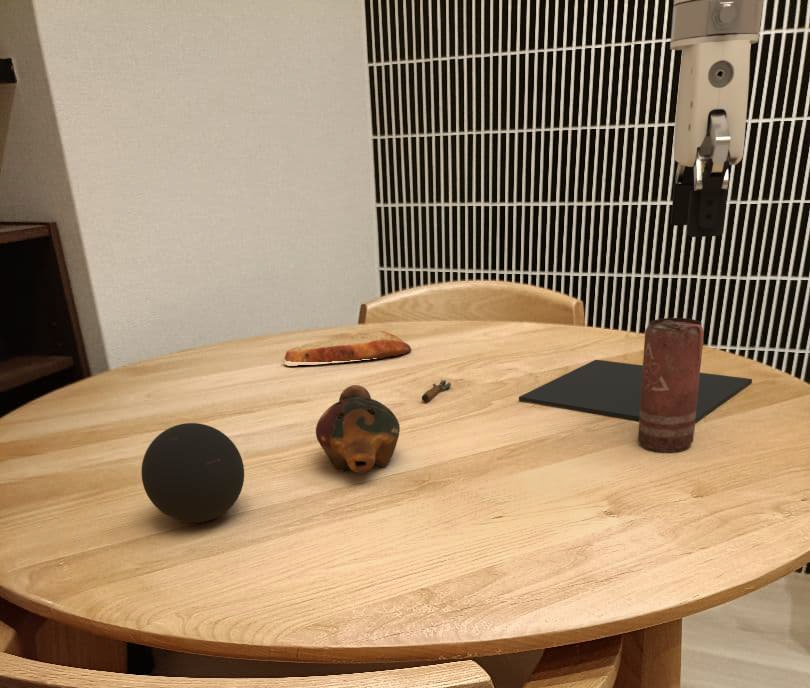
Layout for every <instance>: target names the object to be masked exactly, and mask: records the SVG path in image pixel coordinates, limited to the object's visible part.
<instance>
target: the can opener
mask: <svg viewBox="0 0 810 688" xmlns="http://www.w3.org/2000/svg"><path fill="white" fill-rule="evenodd" d="M451 386H452V383H451V382H450V381H449V382H447V380H445V379H441V380H440V382H439V384H436V383H432V387H431V388H430V389H428V390H427V391H425V392H424V393H423V395H422V396H421V400H422V402H425V403H426V402H428V401H430V400H431V399H433V397H435V395H437V393H439V392H440V390H441V389H448V388H450V387H451Z"/></svg>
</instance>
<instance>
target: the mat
mask: <svg viewBox="0 0 810 688" xmlns="http://www.w3.org/2000/svg"><path fill="white" fill-rule="evenodd" d="M642 372H643V364H634V363H626V362H620V361H619V362H618V361H612V360H611V361H610V360H602V359H594V360H591V361H589V362H587V363H586V364H584V365H581V366H579V367H578V368H575V369H573V370H571V371H569V372H567V373H565V374H562V375H561V376H559V377H556V378H555V379H553V380H551V381H548V382H547V383H545V384H542V385H540V386H538V387H536V388H534V389H532V390H530V391H527V392H526V393H524V394H522V395H520V396H518V402H524V403H528V404H530V403H531V404H535V405H542V406H547V407H554V408H558V409H566V410H571V411H572V410H573V411H578V412H583V413H589V414H596V415H600V416H601V415H602V416H607V417H613V418H619V419H620V418H621V419H625V420H632V421H636V422H639V417H640V402H641V387H642ZM752 383H753V378H748V377H739V376H731V375H724V374H715V373H706V372H700V377H699V387H698V398H697V408H696V418H695V424H697V423H698V422H699V421H701V420H702V419H703V418H705V417H707V416H708V415H710V414H711V413H712V412H713V411H715V410H717V409H718V408H719V407H720V406H722V405H723V404H725V403H726V402H727V401H729V400H730V399H731V398H733V397H734V396H737V395H738V393H740V392H741V391H742V390H744V389H746V388H747V387H748V386H750V385H751V384H752ZM745 387H746V388H745Z"/></svg>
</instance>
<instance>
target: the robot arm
mask: <svg viewBox="0 0 810 688" xmlns="http://www.w3.org/2000/svg"><path fill="white" fill-rule="evenodd" d="M763 5H764V0H673V8H672V19H671V31H670V43H669V44H670V45H669V50H671V51H681V60H680V70H679V74H678V75H679V78H678V79H679V80H678V90H677V99H676V111H675V120H674V121H675V123H674V140H673V159H674V161H675V162H677V168H676V172H675V183H674V184H673V193H672V206H671V214H670V215H671V216H670V224H671V225H672V226H675V227H676V226H686V235H687V236H688V237H689V238H707V237H720V236H722V235H723V234H724V230H725V221H726V212H727V211H726V210H727V203H728V194H729V189H728V187H729V183H730V182H729V180H730V179H729V169H730V166H731V165H732V166H735V165H738V164H739V163H740V162H741V161H742V159H743V157H744V151H745V150H744V149H745V137H746V127H747V125H746V124H747V115H748V114H747V113H748V102H749V101H748V100H749V89H750V88H749V87H750V71H751V70H750V68H751V67H750V66H751V65H750V64H751V45H753V44H756V43H759V38H760V31H761V23H762V13H763Z"/></svg>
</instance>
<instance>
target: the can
mask: <svg viewBox="0 0 810 688" xmlns="http://www.w3.org/2000/svg"><path fill="white" fill-rule="evenodd" d="M704 334H705V331H704V329H703V326H702V322H701V321H699V320H697V319H692V318H687V317H684V318H683V317H665V318H658V319H653V320H651V321H650V322H648V325H647V327H646V328H645V330H644V343H643V345H644V346H643V359H642V360H643V361H642V365H643V372H642V387H641V402H640V417H639V421H638V433H637V441H638V442H639V444H640V446H641V447H643V448H644V449H646V450H648V451H652V452H657V453H678V452H683V451H685V450H687V449H688V448H690V447H691V445H692V444H693V442H694V437H695V429H696V428H695V426H696V423H695V418H696V408H697V398H698V387H699V377H700V373H701V366H702V365H701V364H702V356H703V348H704V336H705V335H704Z"/></svg>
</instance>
